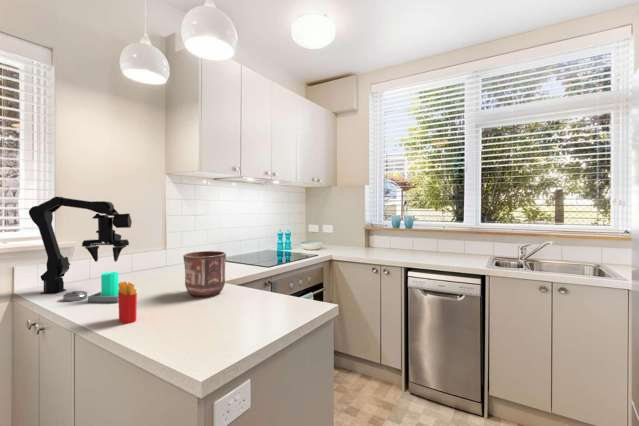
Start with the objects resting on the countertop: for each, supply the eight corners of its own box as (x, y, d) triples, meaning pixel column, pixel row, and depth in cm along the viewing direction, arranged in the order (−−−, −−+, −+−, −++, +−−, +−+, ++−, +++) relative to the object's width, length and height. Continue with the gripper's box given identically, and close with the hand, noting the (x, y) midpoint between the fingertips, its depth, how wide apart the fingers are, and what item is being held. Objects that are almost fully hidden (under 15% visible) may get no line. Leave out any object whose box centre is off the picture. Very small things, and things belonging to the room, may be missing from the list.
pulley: (58, 301, 130) (58, 294, 130) (73, 296, 138) (73, 289, 138) (77, 301, 130) (77, 294, 130) (91, 296, 138) (91, 289, 138)
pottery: (199, 287, 154) (198, 250, 153) (232, 289, 150) (232, 251, 150) (175, 298, 137) (174, 256, 136) (212, 300, 133) (212, 257, 132)
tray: (87, 302, 129) (87, 296, 129) (108, 294, 141) (107, 288, 141) (117, 303, 129) (117, 296, 129) (134, 294, 141) (134, 289, 141)
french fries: (139, 321, 108) (138, 283, 108) (124, 325, 105) (124, 285, 105) (129, 315, 114) (129, 279, 114) (116, 318, 111) (115, 281, 111)
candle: (118, 298, 133) (118, 269, 133) (101, 300, 130) (101, 271, 129) (118, 295, 138) (118, 267, 138) (101, 297, 135) (101, 268, 134)
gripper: (135, 227, 157) (135, 258, 158) (98, 227, 158) (98, 258, 158) (120, 228, 146) (121, 262, 146) (80, 228, 147) (81, 262, 147)
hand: (106, 261), depth 150 cm, fingers open, 9 cm apart
